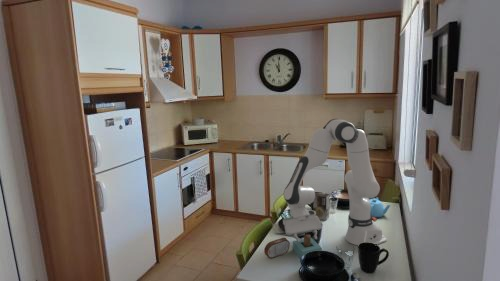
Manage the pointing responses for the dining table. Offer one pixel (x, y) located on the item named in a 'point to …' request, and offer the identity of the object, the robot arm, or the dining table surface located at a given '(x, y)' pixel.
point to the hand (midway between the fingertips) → (307, 240)
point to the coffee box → (321, 205)
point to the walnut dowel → (307, 240)
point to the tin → (276, 247)
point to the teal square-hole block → (302, 250)
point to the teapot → (377, 208)
